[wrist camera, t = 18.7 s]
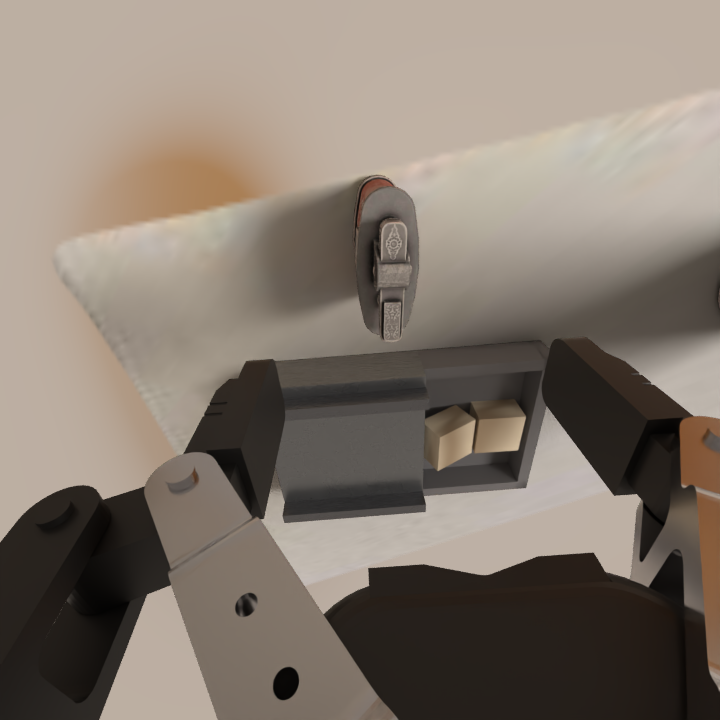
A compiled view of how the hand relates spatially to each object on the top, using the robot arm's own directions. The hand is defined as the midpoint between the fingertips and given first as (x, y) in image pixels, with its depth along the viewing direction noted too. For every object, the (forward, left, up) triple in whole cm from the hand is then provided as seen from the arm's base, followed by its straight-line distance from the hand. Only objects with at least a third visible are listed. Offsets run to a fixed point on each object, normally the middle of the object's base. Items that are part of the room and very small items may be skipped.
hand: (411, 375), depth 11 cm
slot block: (+3, +17, -18) cm, 25 cm away
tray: (-9, +17, -18) cm, 26 cm away
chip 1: (-5, +17, -16) cm, 24 cm away
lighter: (0, 0, -18) cm, 18 cm away
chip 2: (-10, +17, -15) cm, 25 cm away
